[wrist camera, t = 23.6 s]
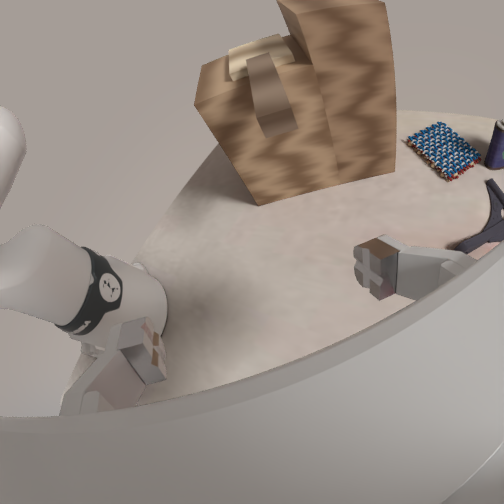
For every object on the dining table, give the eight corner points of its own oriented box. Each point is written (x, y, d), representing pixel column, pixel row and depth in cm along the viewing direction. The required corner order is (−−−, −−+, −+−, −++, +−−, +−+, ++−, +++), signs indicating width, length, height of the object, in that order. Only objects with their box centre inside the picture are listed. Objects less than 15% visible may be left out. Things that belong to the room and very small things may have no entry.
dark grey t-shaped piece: (427, 215, 32) (431, 203, 30) (490, 183, 29) (495, 172, 27) (476, 306, 25) (484, 300, 22) (537, 258, 22) (545, 250, 19)
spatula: (328, 121, 17) (322, 99, 16) (237, 148, 19) (225, 129, 18) (281, 39, 27) (276, 27, 26) (231, 55, 29) (225, 44, 28)
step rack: (258, 206, 42) (165, 63, 20) (252, 154, 48) (182, 33, 26) (394, 171, 36) (384, 2, 14) (368, 124, 41) (341, -13, 20)
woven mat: (447, 187, 32) (450, 179, 30) (404, 145, 38) (405, 137, 36) (482, 163, 31) (485, 155, 29) (441, 126, 36) (442, 118, 35)
